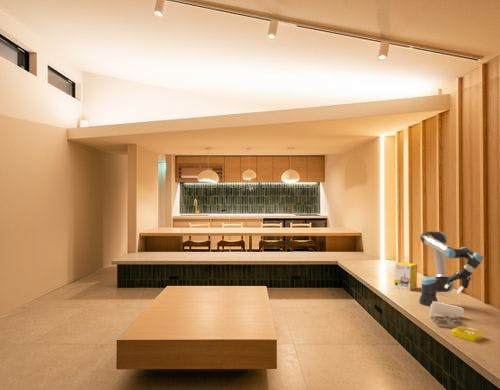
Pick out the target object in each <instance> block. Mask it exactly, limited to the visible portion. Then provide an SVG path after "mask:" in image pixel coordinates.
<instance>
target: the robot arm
mask: <svg viewBox="0 0 500 390" xmlns="http://www.w3.org/2000/svg"><path fill="white" fill-rule="evenodd" d="M420 241H421V242H422V244H423V245H425V246H429V247H431V249H432V251H433V258H434V259H433V260H434V266H435V275H434V276H424V277H422V278H421V295H420V296H419V299H418V300H419V301H418V302H419V304H420V305H424V306H427V307H430V306H431V304H432V301H435V302H439V301H438V298H437V293H449V292H451V291H453V289H454V282H455V281H457V280H461V281H462V282H461V283H462V284H461V286H459V288H458V289H457V290H456V293H457V294H458V295H460V294H461V292H463V290H464V289H467V288H469V285H470V281H471V280H472V277H471V276H472V274H473V273H474V272H475V270H476V269H477V268H478V267H479V266H480V265H481V263H482V262H483V261H484V259H485V256H484V255H482V254H481V253H479V252H477V251H475V252H474V251H472V250H471V249H470V248H467V247H466V246H461V247H460V248H453V247H452V246H450V245H447V242H448V237H447V235H446V233H444V232H443V231H434V230H433V231H431V230H430V231H424V232H422V233H421V235H420ZM446 258H447V259H465V260H466V261H467V262H466V263H465V264H464V265H463V267H462V268H461V269H460V272H459V271H458V270H457V271H456V272H454V273H453V274H452V275H450V276H449V275H448V272H447V265H446Z"/></svg>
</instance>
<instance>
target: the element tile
mask: <svg viewBox="0 0 500 390" xmlns="http://www.w3.org/2000/svg"><path fill="white" fill-rule="evenodd" d="M468 327H469V326H468ZM468 327H465V326H459V327H456V328H453V329H451V335H452V336H453V337H457V338H460V339H463V340H466V341H469V342H472V343H477V342H479V341H481V340H483V339H484V338H485V337H484V335H485V333H484V331H481V330H479V329H475V328H471V327H469V328H468Z"/></svg>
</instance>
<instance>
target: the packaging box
mask: <svg viewBox="0 0 500 390" xmlns="http://www.w3.org/2000/svg"><path fill="white" fill-rule="evenodd" d="M393 282H394V284H393V285H394V286H393V287H394V288H396V289H400V290H406V291H413V290H415V288H416V289H417V287H418V286H417V285H418V283H417V282H418V264H417V263H411V262H404V261H401V262H396V263H394V281H393ZM412 289H413V290H412Z"/></svg>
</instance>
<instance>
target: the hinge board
mask: <svg viewBox="0 0 500 390" xmlns="http://www.w3.org/2000/svg"><path fill="white" fill-rule="evenodd" d="M430 320H431V321H432V322H433V323H434V324H436V326H437V327H438V328H441V329H442V328H443V329H451V330H452V329H453V328H456V327H459V326H465V327H468V328H470V327H469V326H468V325H467V324H465V323H464V322H463V321H462V320H461V319H460V318H458V317H445V316H443V315H434V316H431V317H430Z"/></svg>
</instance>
